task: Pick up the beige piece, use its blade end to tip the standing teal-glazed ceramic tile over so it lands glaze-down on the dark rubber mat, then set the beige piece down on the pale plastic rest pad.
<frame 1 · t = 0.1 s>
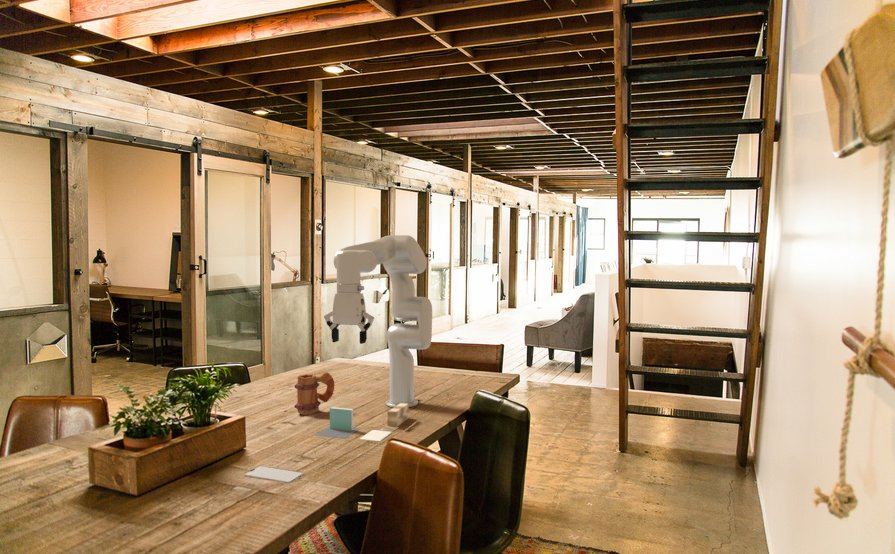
hand: (349, 342, 196), 31 cm above the table, fingers open, 9 cm apart
smartphone: (274, 476, 166), on the table
beige piece: (398, 424, 213), on the table
rest pad: (376, 437, 198), on the table
tile: (341, 429, 205), point 1 cm above the table, touching mat
mug: (314, 413, 227), on the table
mat: (338, 433, 203), on the table
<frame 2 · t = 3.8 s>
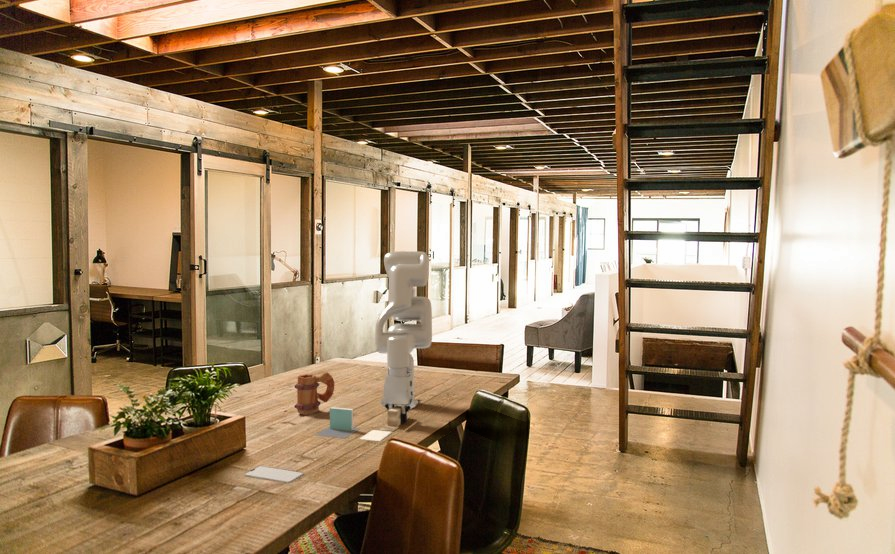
hand: (398, 423, 213), 0 cm above the table, fingers closed on beige piece, 3 cm apart
beige piece: (398, 424, 213), on the table, touching gripper
everything else where it was.
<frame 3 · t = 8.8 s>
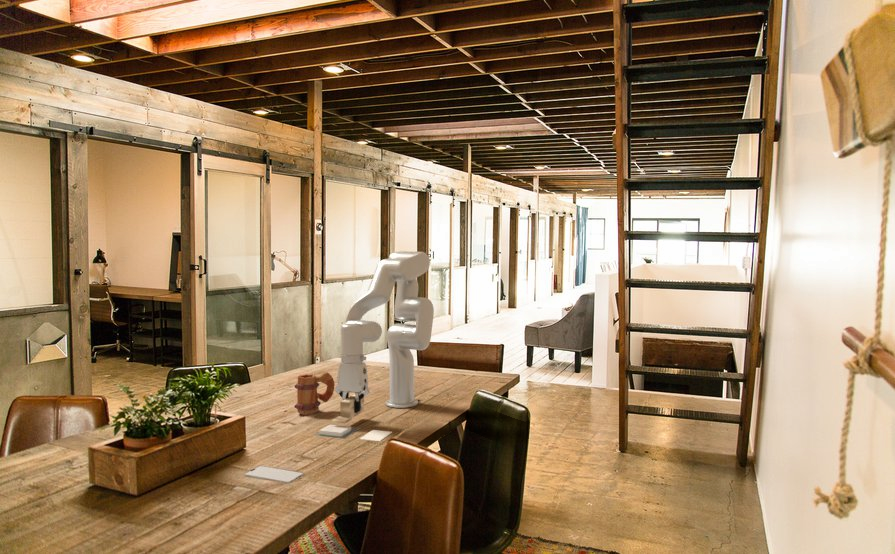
hand: (352, 410, 213), 5 cm above the table, fingers closed on beige piece, 3 cm apart
beige piece: (352, 414, 213), point 3 cm above the table, touching gripper
tile: (340, 427, 204), point 1 cm above the table, tilted 90°, touching mat
everything else where it was.
when the fingers open (3 cm above the table, at t = 14.6 s): beige piece stays where it is, resting on rest pad.
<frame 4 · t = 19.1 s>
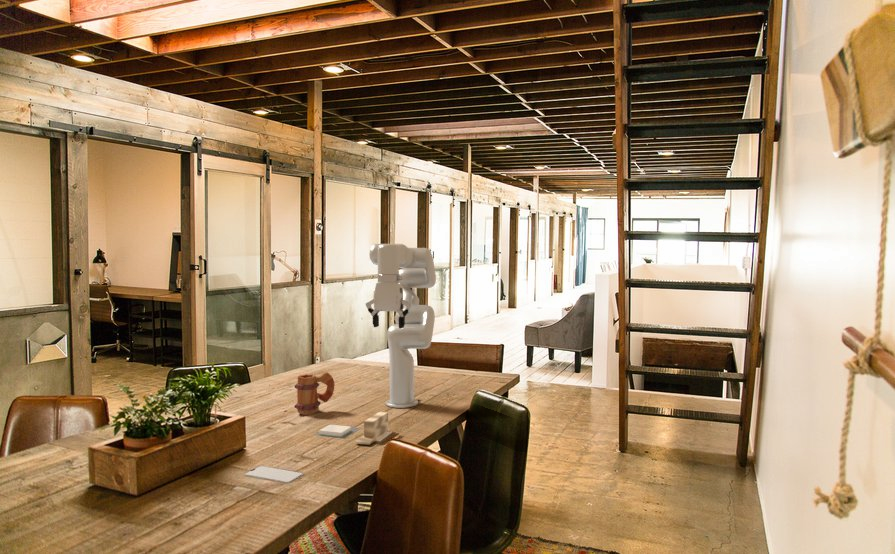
hand: (388, 327, 217), 33 cm above the table, fingers open, 9 cm apart
beige piece: (376, 434, 198), point 1 cm above the table, touching rest pad
everything else where it was.
at the end: tile tilted 90°; tile inside the target area on the mat (1.6 cm from its centre), point 1.3 cm above the mat's base; beige piece inside the target area on the rest pad (0.2 cm from its centre), point 0.8 cm above the rest pad's base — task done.
